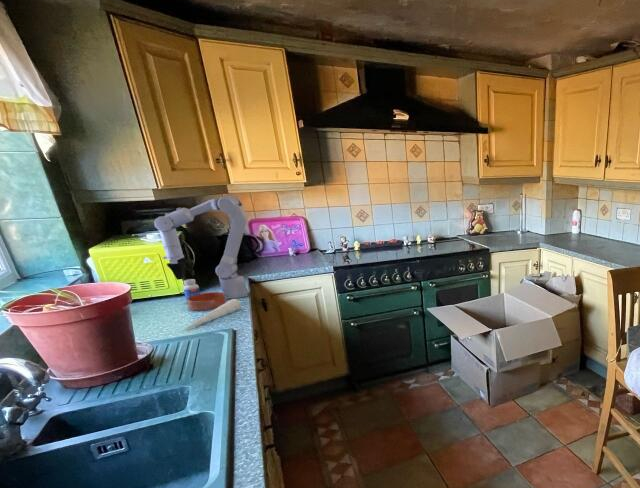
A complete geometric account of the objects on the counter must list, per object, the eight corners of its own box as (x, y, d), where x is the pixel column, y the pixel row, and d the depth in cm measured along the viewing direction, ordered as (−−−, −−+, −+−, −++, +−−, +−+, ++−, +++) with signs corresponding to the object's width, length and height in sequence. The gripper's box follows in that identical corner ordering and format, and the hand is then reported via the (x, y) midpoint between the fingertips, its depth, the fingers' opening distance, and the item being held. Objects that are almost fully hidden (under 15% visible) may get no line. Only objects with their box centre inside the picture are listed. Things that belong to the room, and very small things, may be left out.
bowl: (226, 299, 184) (224, 290, 183) (226, 307, 174) (224, 298, 173) (190, 304, 178) (187, 295, 176) (188, 313, 168) (185, 303, 166)
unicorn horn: (177, 329, 151) (173, 317, 150) (234, 309, 173) (231, 297, 171) (187, 330, 150) (183, 318, 149) (243, 310, 172) (240, 298, 170)
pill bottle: (194, 304, 178) (188, 282, 175) (184, 303, 179) (177, 281, 176) (205, 300, 183) (199, 278, 180) (195, 299, 184) (189, 278, 181)
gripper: (162, 243, 179) (171, 274, 184) (157, 249, 168) (167, 282, 172) (182, 242, 183) (190, 272, 188) (179, 247, 171) (188, 279, 176)
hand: (181, 277), depth 180 cm, fingers open, 7 cm apart
